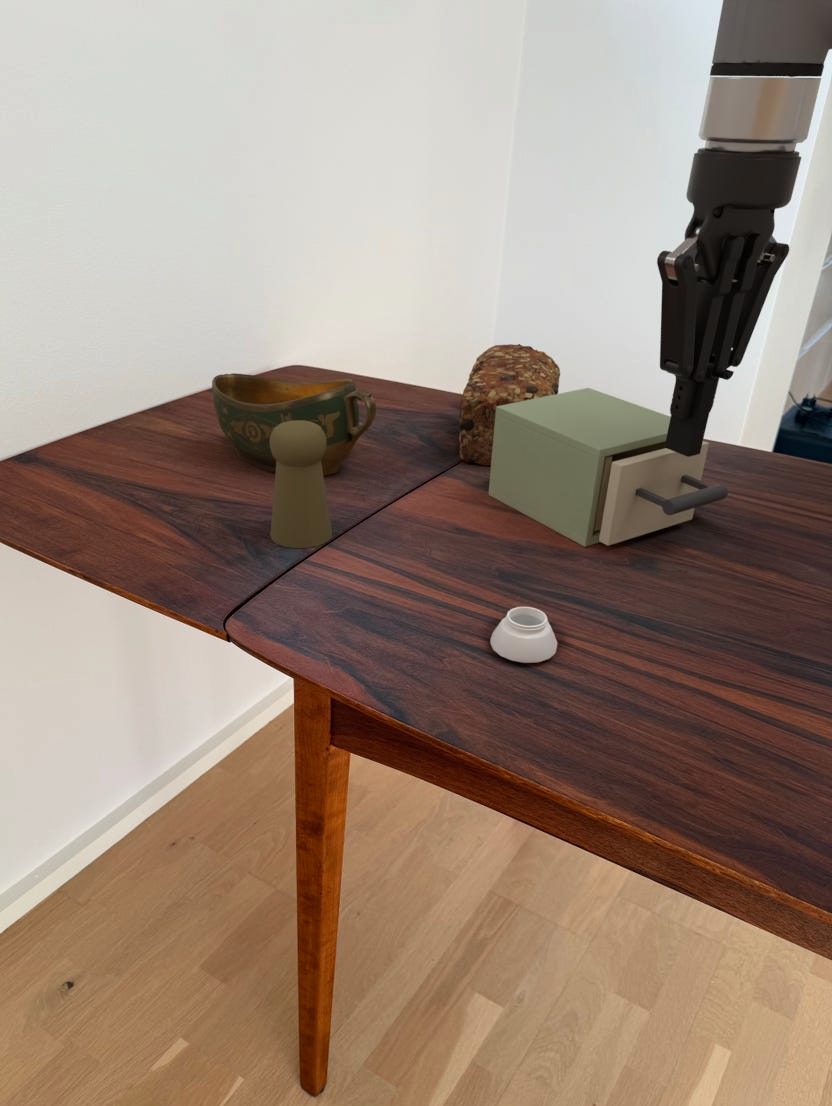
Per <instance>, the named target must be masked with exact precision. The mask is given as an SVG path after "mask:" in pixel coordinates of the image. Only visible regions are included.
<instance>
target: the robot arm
mask: <svg viewBox="0 0 832 1106" xmlns="http://www.w3.org/2000/svg"><path fill="white" fill-rule="evenodd" d="M720 10H721V11H720V16H719V22H718V27H717V33H716V38H715V45H714V49H713V55H712V62H711V64H712V65H711V68H710V73H709V76H710V77H709V82H708V87H707V91H706V96H705V101H704V106H703V111H702V116H701V121H700V126H699V131H698V137H699V139H700V140H701V141H705V144H704V147H701V148H698V149H697V151H696V152H695V153H693V158H692V162H691V163H692V164H691V168H690V173H689V179H688V185H687V189H686V199H687V201H688V202H689V203H690V204H692V206H693V213H692V216H691V218H690V221H689V222H688V224H687V227H686V229H685V232H684V240H683V242H682V243H680V244H679V245H678V246H677V247H676V248H675V249H674V250H673V251H669V250H662V251H661V252H660V253H659V254H658V256H657V259H656V265H657V269H658V273H659V276H660V279H661V304H660V305H661V308H660V309H661V312H660V341H659V342H660V344H659V369H660V370H662V371H664V372H667V373H668V374H671V375H673V376H675V383H674V388H673V393H672V397H671V402H670V407H669V413H670V417H671V418H670V423H669V428H668V433H667V437H666V442H665V448H667V449H670V450H672V451H675V452H677V453H680V454H682V455H685V456H687V457H690V456H694V455H698V454H700V451H701V447H702V442H703V441H704V438H705V434H706V429H707V425H708V421H709V416H710V413H711V411H712V409H713V406H714V402H715V399H716V394H717V389H718V385H719V381H720V379H721V380H726V381H728V380H730V379H731V378H732V377H733V375H734V373H735V372H734V371H733V370H731V369H729V368H731V367H733V368H738V367H739V366H740V365H741V363H742V361H743V359H744V356H745V353H746V352H747V348H748V347H749V343H750V341H751V338H752V335H753V333H754V330H755V328H756V326H757V323H758V320H759V318H760V315H761V314H762V313H761V312H762V310H763V307H764V305H765V303H766V300H767V297H768V294H769V293H770V289H771V287H772V284H773V282H774V280H775V277H776V275H777V273H778V272H779V270H780V268H781V266H783V263H785V260H786V259H787V257H788V255H789V253H790V245H789V244H788V243H784V242H778V241H777V240H776V238H775V237H774V236H773V234H774V231H775V226H776V223H775V222H776V221H775V212H776V209H782V208H785V207H786V206H788V205H789V203H790V202H791V201H792V198H793V197H792V196H793V193H794V189H795V186H796V181H797V177H798V173H799V169H800V165H801V161H802V156H800V152H799V151H798V150H796V148H797V147H796V146H797V144H801V143H804V142H805V141H806V140H807V139H808V136H809V132H810V128H811V124H812V119H813V115H814V111H815V106H816V103H817V98H818V93H819V89H820V85H821V80H822V78H821V77H822V76H823V72H824V69H825V62H826V58H827V56H828V53H829V51H830V50H832V0H722V5H721V9H720Z"/></svg>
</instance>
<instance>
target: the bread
mask: <svg viewBox="0 0 832 1106" xmlns="http://www.w3.org/2000/svg"><path fill="white" fill-rule="evenodd" d="M560 377H561V370H560V367H559V365H558V364H557V363H556V361H555V360H554V359H553V358H552V356H550V355H548V354H547V353H546V352H545V351H541V350H538V349H534V348H533V347H532V346H530V345H521V344H520V343H519V344H511V343H509V344H495V345H492V346H491V347H489V348H488V349H486V350H485V351H483V352H482V353H481V354H480V355H479V356H477V357H476V360H475V362H474V363H473V365H472V369H471V371H470V372H469V377H468V379H467V383H466V386H465V387H464V389H463V391H462V395H461V398H460V405H459V414H458V415H459V425H458V426H459V435H458V436H459V437H458V438H459V440H458V441H459V457H460V458H461V460H463V461H465V462H467V463H472V462H473V463H475V464H478V465H481V466H491V460H492V449H493V437H494V426H495V415H496V407H497V406H501V405H506V404H511V403H516V402H521V401H526V400H531V399H536V398H541V397H545V396H550V395H555V394H559V386H560Z"/></svg>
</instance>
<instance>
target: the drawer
mask: <svg viewBox="0 0 832 1106" xmlns="http://www.w3.org/2000/svg"><path fill="white" fill-rule="evenodd" d="M665 442H666V441H665ZM665 442H661V443H657V444H653V445H649V446H645V447H641V448H637V449H633V450H629V451H625V452H621V453H617V454H613V455H609V456H605V460H604V467H603V473H602V479H601V485H600V491H599V498H598V504H597V510H596V516H595V522H594V529H593V530H594V531H596V530H600V529H601V531H600V537H599V541H600V542H599V543H602V544H603V545H606V546H608V547H609V546H611V545H615V544H619V543H621V542H624V541H627V540H631V539H634V538H638V537H641V536H644V535H646V534H650V533H653V532H656V531H659V530H663V529H665V528H669V527H672V526H675V525H678V524H681V523H685V522H689V521H692V520H693V518H694V513H695V509H696V508H699V507H702V506H705V505H708V504H713V503H715V502H719V501H722V500H725V499H726V498H727V497H728V495H729V490H728V487H727V486H726V485H725V484H723V483H718V484H714V485H712V484H710V483H707V482H704V481H703V480H702V477H703V473H704V469H705V464H706V460H707V455H708V450H709V446H710V442H708V441H705V440H703V442H702V447H701V451H700V454H698V455H694V456H690V457H687V456H685V455H682V454H680V453H677V452H675V451H672V450H670V449H667V448H665Z"/></svg>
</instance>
